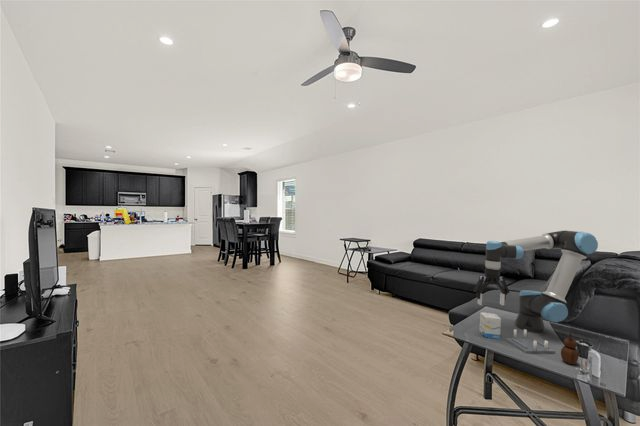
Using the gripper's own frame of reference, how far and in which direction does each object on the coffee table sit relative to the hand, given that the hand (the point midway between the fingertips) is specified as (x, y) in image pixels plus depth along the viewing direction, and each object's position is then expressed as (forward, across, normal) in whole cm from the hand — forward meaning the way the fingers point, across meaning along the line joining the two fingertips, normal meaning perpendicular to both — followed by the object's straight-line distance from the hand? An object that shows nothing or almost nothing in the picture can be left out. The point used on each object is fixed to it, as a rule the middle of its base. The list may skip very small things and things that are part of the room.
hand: (490, 304), depth 163 cm
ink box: (+18, 0, 0) cm, 18 cm away
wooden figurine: (+18, -20, +29) cm, 40 cm away
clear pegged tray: (+18, -13, +14) cm, 26 cm away
